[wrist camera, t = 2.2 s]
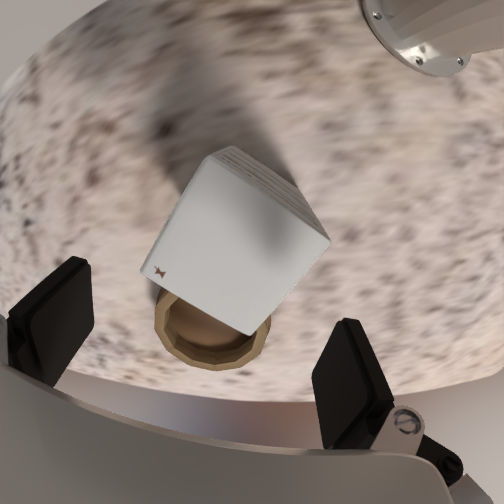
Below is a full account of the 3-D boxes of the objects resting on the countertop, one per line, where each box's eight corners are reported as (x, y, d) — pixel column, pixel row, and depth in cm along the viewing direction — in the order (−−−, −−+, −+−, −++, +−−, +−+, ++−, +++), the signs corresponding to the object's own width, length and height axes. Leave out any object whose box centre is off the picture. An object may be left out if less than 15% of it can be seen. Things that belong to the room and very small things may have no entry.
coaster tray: (164, 248, 28) (153, 264, 24) (284, 275, 28) (287, 294, 25) (157, 338, 32) (149, 357, 29) (255, 360, 33) (254, 381, 30)
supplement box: (254, 252, 28) (248, 342, 16) (187, 208, 26) (132, 273, 14) (302, 189, 25) (337, 244, 13) (233, 140, 23) (204, 150, 12)
